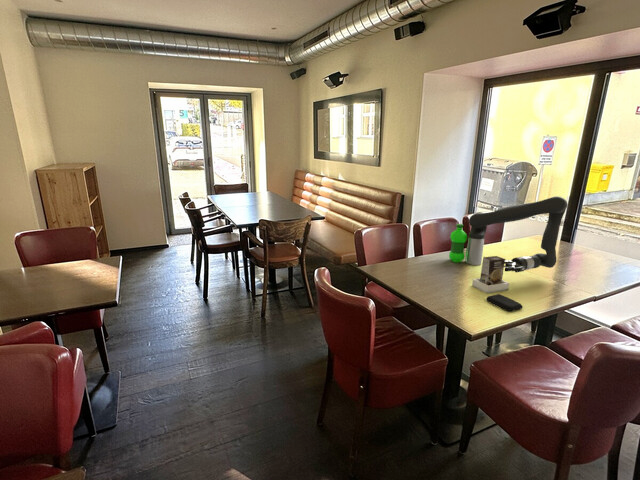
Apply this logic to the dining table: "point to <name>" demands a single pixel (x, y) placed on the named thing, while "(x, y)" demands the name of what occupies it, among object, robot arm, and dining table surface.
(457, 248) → the plastic bottle
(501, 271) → the coffee box
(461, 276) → the dining table surface
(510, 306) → the carrying case or bag
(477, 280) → the white rectangular tray
